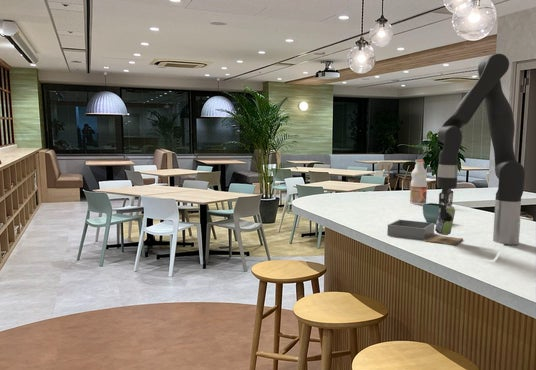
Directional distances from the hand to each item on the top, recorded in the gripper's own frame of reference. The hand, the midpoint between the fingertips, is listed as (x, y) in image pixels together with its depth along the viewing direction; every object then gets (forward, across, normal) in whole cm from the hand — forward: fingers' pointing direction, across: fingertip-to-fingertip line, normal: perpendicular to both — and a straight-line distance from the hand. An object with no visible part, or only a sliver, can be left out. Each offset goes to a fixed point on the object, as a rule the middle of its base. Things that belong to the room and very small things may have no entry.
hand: (445, 217), depth 193 cm
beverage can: (+7, 0, 0) cm, 7 cm away
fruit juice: (+10, +91, +36) cm, 98 cm away
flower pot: (+10, +40, +14) cm, 43 cm away
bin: (+10, +5, +15) cm, 18 cm away
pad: (+10, 0, 0) cm, 10 cm away
